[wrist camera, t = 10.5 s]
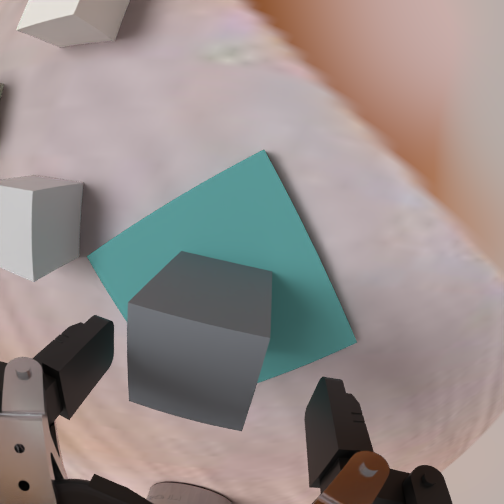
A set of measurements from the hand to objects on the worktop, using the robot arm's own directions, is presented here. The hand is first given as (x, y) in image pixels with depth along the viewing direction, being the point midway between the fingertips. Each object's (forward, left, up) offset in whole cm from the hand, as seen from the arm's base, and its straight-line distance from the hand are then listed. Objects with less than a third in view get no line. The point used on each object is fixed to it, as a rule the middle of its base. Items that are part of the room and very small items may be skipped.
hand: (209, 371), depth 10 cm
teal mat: (+1, 0, -6) cm, 6 cm away
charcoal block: (+1, 0, -5) cm, 5 cm away
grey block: (+10, +7, -6) cm, 14 cm away
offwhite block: (+20, -1, -6) cm, 21 cm away
